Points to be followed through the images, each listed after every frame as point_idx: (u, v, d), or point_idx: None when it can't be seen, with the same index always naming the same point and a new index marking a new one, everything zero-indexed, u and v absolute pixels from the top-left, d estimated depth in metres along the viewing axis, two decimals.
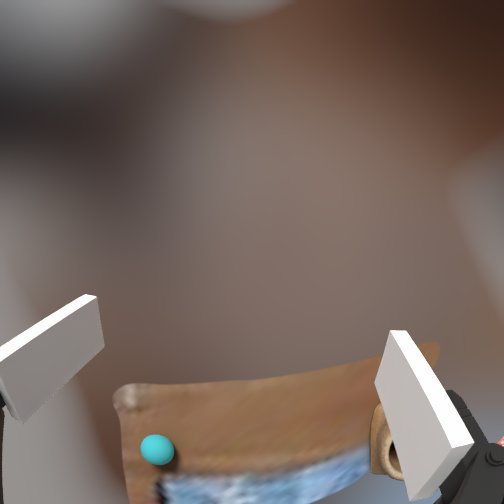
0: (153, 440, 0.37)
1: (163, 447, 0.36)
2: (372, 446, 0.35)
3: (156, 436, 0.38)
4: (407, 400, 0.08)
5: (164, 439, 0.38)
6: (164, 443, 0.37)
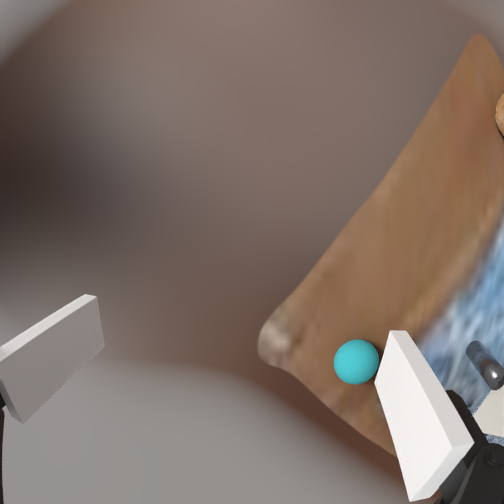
0: (345, 356, 0.30)
1: (362, 351, 0.30)
2: None
3: (343, 348, 0.32)
4: (407, 400, 0.08)
5: (354, 343, 0.31)
6: (358, 346, 0.31)
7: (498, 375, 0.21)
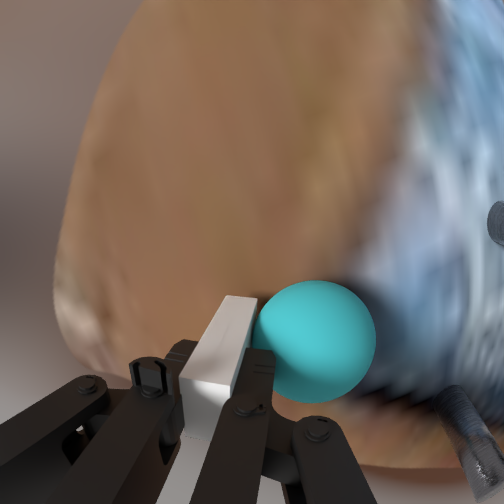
0: (349, 354, 0.10)
1: (358, 308, 0.11)
2: None
3: (318, 346, 0.10)
4: None
5: (325, 309, 0.10)
6: (342, 305, 0.11)
7: None
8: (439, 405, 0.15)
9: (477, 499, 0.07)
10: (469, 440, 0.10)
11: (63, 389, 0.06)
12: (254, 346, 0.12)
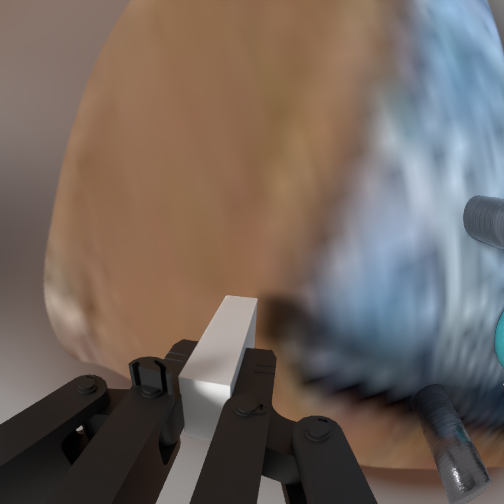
0: None
1: None
2: None
3: None
4: None
5: None
6: None
7: None
8: (417, 405, 0.15)
9: None
10: (445, 442, 0.11)
11: (63, 389, 0.06)
12: None
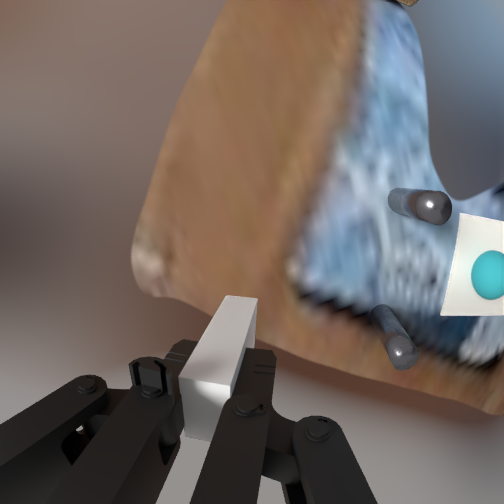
0: None
1: None
2: None
3: None
4: None
5: None
6: None
7: (433, 199, 0.18)
8: (372, 316, 0.29)
9: (393, 363, 0.21)
10: (386, 329, 0.25)
11: (63, 389, 0.06)
12: None
